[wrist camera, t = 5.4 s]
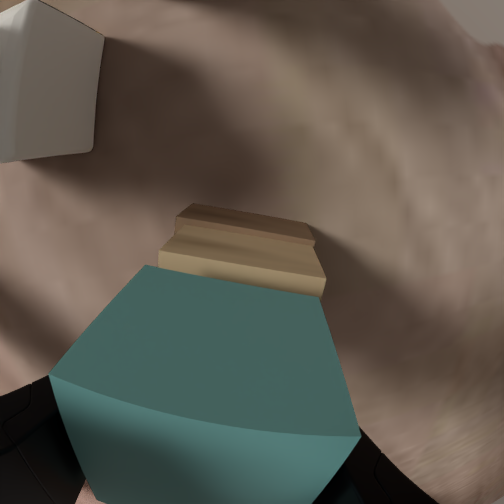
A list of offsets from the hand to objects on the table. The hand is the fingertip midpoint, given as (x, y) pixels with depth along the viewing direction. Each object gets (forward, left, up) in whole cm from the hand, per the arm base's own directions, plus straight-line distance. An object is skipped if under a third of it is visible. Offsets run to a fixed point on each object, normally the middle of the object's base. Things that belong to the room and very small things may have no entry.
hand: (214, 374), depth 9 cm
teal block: (0, 0, -1) cm, 1 cm away
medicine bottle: (+8, +13, -9) cm, 18 cm away
